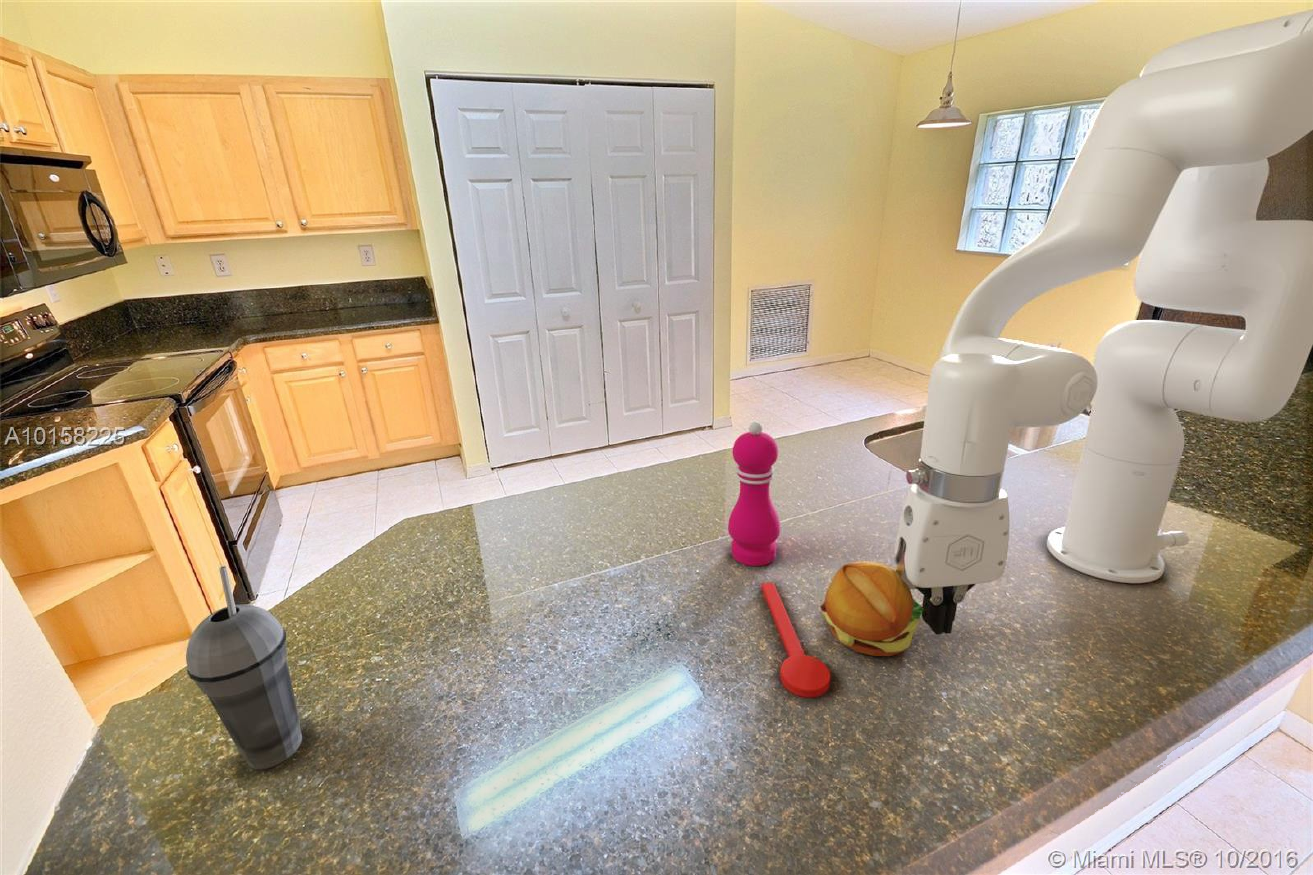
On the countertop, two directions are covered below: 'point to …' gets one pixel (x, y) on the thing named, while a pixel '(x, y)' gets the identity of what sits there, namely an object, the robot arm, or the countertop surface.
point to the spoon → (796, 653)
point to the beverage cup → (247, 679)
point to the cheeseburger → (871, 609)
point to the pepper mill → (754, 499)
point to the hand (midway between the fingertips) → (936, 625)
